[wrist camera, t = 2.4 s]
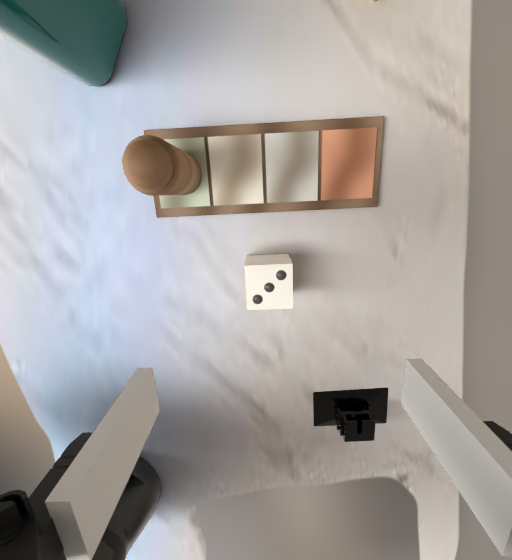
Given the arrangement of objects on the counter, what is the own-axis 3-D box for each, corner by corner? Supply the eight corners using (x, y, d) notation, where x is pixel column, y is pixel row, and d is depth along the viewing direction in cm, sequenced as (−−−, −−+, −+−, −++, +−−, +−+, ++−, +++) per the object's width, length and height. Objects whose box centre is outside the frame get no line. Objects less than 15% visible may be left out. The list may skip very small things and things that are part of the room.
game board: (158, 217, 33) (156, 217, 32) (145, 131, 30) (143, 130, 29) (375, 206, 32) (377, 206, 31) (382, 117, 29) (384, 115, 29)
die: (248, 294, 35) (247, 310, 31) (246, 255, 34) (244, 265, 29) (288, 292, 35) (293, 308, 30) (287, 253, 34) (292, 263, 29)
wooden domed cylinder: (164, 196, 31) (114, 197, 20) (158, 153, 30) (101, 130, 19) (203, 194, 31) (173, 194, 20) (199, 151, 30) (165, 126, 19)
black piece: (396, 380, 39) (414, 405, 35) (392, 424, 42) (409, 453, 37) (302, 385, 40) (307, 410, 35) (303, 428, 42) (309, 458, 37)
